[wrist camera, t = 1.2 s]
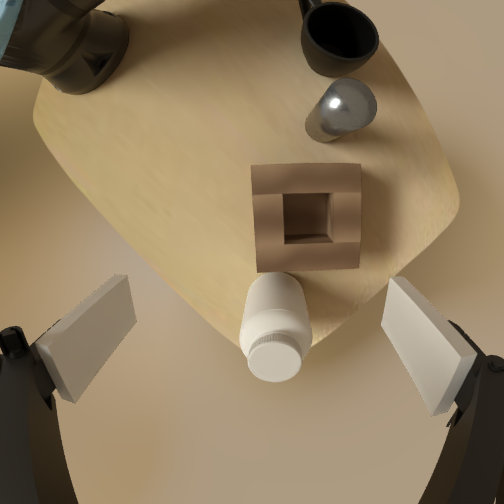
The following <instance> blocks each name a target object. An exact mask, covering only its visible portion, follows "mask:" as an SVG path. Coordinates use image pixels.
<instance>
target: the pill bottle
mask: <svg viewBox="0 0 504 504" xmlns="http://www.w3.org/2000/svg"><path fill="white" fill-rule="evenodd" d="M239 340H240V345H241V349H242V351H243V353H244V354H245V356H246V357H247V358H248V366H249V368H250V370H251V372H252V373H253V374H254V375H255V376H257V377H258V378H260V379H262V380H264V381H269V382H281V381H285V380H288V379H290V378H292V377H293V376H295V375H296V374H297V373H298V372H299V370H300V369H301V366H302V362H303V358H304V357H305V356H306V355H307V353H308V352H309V350H310V347H311V344H312V330H311V325H310V320H309V315H308V310H307V306H306V301H305V296H304V292H303V289H302V287H301V285H300V283H299V282H298V281H297V280H296V279H295V278H294V277H293V276H291V275H289V274H287V273H284V272H268V273H265V274H263V275H261V276H259V277H258V278H257V279H256V280H255V281H254V282H253V283H252V285H251V286H250V288H249V291H248V295H247V300H246V305H245V310H244V315H243V320H242V325H241V330H240V337H239Z"/></svg>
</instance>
